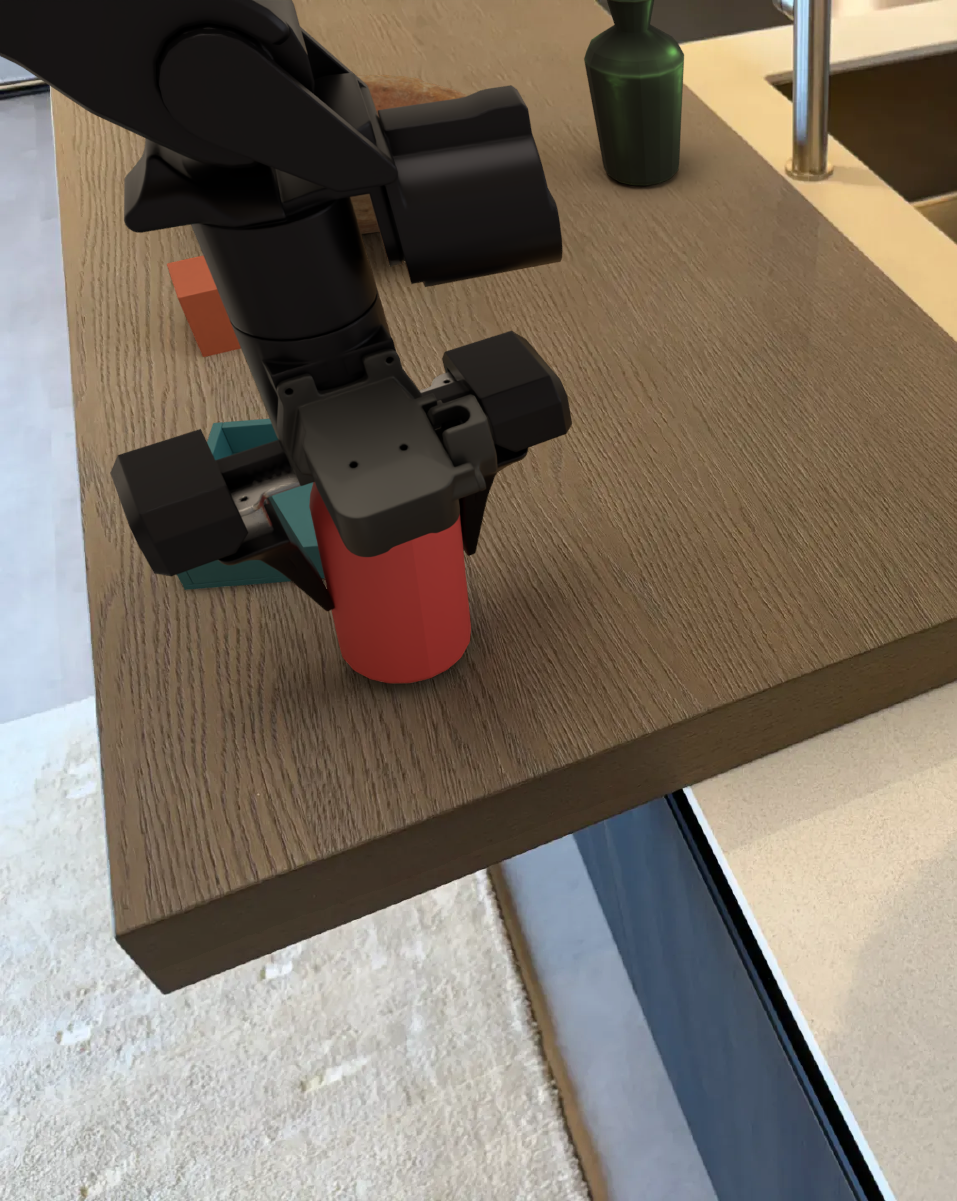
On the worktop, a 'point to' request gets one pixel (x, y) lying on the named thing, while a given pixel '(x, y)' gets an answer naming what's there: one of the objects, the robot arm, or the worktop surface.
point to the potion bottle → (636, 95)
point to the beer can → (396, 602)
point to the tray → (291, 502)
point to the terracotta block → (202, 306)
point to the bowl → (392, 95)
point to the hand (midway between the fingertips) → (399, 577)
